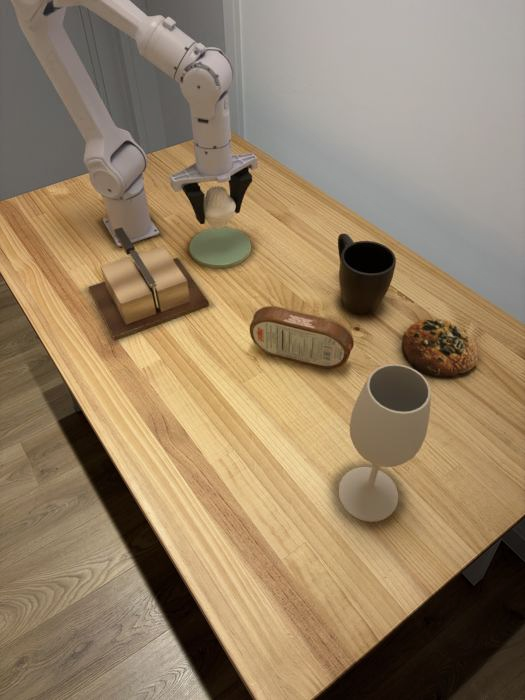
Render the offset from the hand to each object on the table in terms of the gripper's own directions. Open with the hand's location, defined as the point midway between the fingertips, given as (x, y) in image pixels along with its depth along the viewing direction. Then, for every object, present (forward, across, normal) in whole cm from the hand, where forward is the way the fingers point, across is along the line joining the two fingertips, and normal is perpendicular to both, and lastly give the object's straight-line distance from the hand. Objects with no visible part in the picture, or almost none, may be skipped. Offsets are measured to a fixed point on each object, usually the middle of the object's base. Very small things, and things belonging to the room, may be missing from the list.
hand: (218, 215), depth 94 cm
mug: (+7, +14, -22) cm, 27 cm away
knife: (+5, -16, -3) cm, 17 cm away
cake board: (+7, -16, -6) cm, 19 cm away
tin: (+7, -1, -29) cm, 30 cm away
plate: (+7, 0, 0) cm, 7 cm away
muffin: (+2, 0, 0) cm, 2 cm away
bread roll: (+7, +18, -38) cm, 43 cm away
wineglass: (+7, -5, -52) cm, 53 cm away
